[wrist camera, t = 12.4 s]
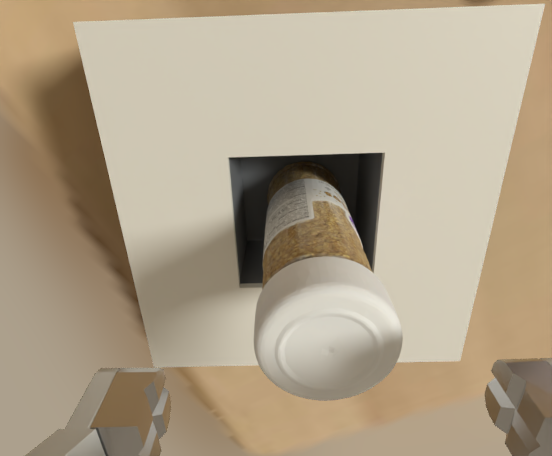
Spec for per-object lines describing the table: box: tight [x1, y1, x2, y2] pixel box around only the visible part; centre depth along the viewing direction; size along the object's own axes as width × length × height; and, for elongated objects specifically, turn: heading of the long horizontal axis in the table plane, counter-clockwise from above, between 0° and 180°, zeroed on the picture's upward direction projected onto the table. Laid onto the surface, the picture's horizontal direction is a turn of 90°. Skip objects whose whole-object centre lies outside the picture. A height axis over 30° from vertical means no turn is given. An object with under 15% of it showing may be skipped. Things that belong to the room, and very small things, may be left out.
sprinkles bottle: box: [254, 162, 403, 401], centre depth 17 cm, size 5×4×14 cm
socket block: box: [73, 4, 545, 367], centre depth 21 cm, size 18×18×6 cm
